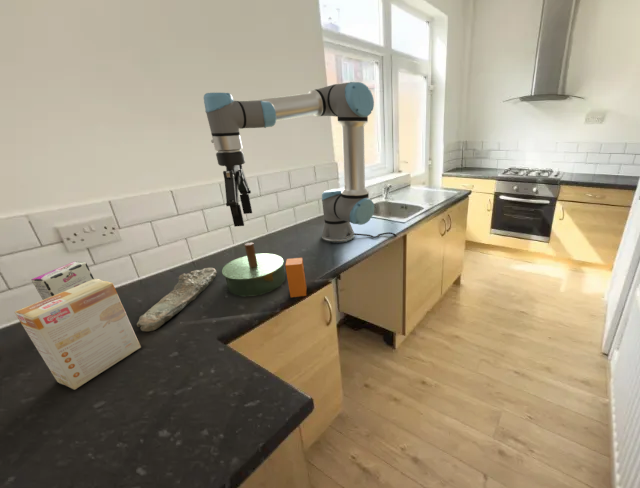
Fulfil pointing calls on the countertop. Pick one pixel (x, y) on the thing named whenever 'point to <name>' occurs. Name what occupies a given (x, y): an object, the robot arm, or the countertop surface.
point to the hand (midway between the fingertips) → (244, 219)
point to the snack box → (296, 277)
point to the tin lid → (252, 265)
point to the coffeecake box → (80, 331)
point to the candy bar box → (62, 279)
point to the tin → (256, 284)
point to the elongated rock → (177, 298)
